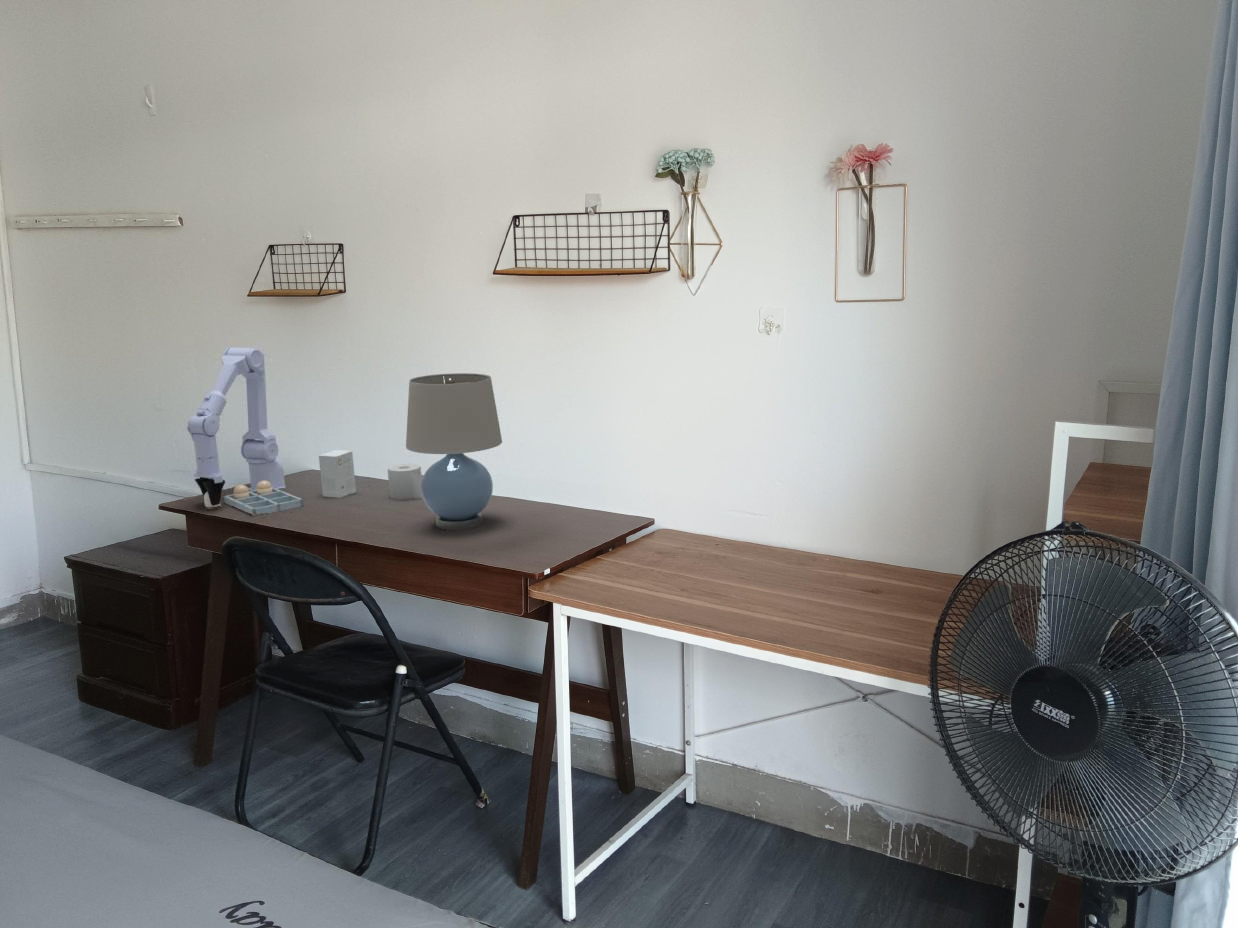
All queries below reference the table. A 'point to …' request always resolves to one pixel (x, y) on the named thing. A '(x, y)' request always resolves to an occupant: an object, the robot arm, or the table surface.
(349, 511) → the table surface
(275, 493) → the egg carton
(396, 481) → the toilet tissue
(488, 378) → the lamp
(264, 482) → the brown egg
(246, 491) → the brown egg
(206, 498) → the cream egg
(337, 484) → the small box
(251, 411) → the robot arm
